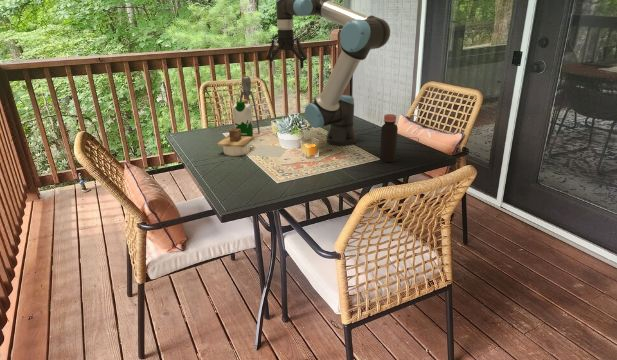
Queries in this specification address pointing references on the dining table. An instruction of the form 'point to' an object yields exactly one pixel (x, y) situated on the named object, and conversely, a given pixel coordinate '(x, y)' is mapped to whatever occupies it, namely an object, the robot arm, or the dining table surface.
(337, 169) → the dining table surface
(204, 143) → the dining table surface
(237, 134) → the lid
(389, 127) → the bottle
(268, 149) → the mat
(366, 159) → the dining table surface
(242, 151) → the bowl
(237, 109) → the milk carton
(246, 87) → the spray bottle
